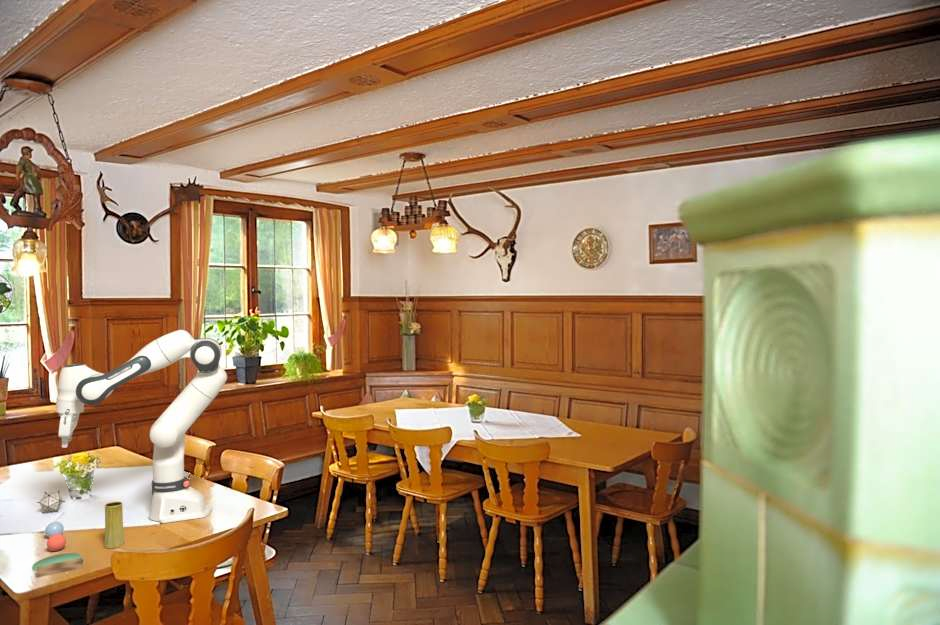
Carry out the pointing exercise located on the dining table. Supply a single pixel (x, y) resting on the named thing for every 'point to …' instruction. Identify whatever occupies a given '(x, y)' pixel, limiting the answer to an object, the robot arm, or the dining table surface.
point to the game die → (51, 501)
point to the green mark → (56, 559)
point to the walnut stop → (59, 567)
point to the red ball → (56, 542)
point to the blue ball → (54, 529)
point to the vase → (113, 525)
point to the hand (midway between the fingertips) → (66, 444)
